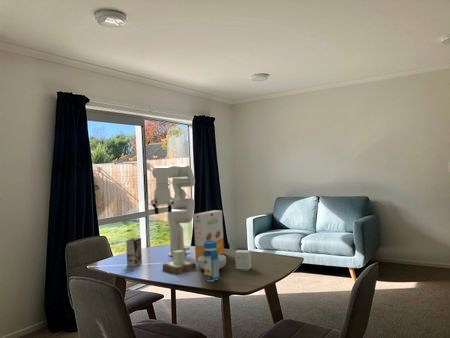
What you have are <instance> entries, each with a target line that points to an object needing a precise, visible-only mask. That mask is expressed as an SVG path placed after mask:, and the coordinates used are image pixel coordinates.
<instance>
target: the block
mask: <svg viewBox="0 0 450 338" xmlns="http://www.w3.org/2000/svg"><path fill="white" fill-rule="evenodd" d="M185 252H186V251H182V250H177V251H173V256H172V262H173V263H174V264H182V263H185V260H186V258H185V257H186V255H185Z"/></svg>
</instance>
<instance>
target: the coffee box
mask: <svg viewBox="0 0 450 338" xmlns="http://www.w3.org/2000/svg"><path fill="white" fill-rule="evenodd" d="M125 243H126V245H125V246H126V267H127V266H128V267H137V266H139V265H141V264H142V263H143V258H142V257H143V255H142V252H143V251H142V238H140V237H135V238H130V239H128V240H126V241H125Z"/></svg>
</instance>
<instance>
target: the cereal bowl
mask: <svg viewBox="0 0 450 338" xmlns="http://www.w3.org/2000/svg"><path fill="white" fill-rule="evenodd" d="M203 258H204V257H203V256H201V257H199V258H198V261H197V264H198V266H199V267H200V268H201V269H202V270H204V263H203ZM218 258H219V261H218V262H219V270H220V269H222V268H224V267H225V266H226V263H227V256H226V255H224V254H222V255H220V254H218Z"/></svg>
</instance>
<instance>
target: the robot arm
mask: <svg viewBox="0 0 450 338" xmlns="http://www.w3.org/2000/svg"><path fill="white" fill-rule="evenodd" d="M151 173H152V176H153V178H155V188H154V195H153V199H152V200H150V202H149V203H150V204H151V206H152V207H153V208H154V214H155V215H159V205H167V220H168V221H167V222H168V226H169V227H168V228H169V242H170V243H169V245H170V247H169V249H170V250H169V251H170V252H169V253H167V255H168V256H169V257H173V251H177V250H182V251H185V256H186V255H187V251H190V249H191V247H190V246H187V247H185V243H184V242H185V241H184V239H185V236H184V228H183V226H182V224H188V223H189V224H190V223H191V222H192V221H193V219H194V214H195V213H194V212H195V204H196V203H195V199H194V198H192V197H190V196H189V197H188V196H187V193H186V191H185V190H184V189H183V188H188V187H189V188H192V187H194V186H195V183H196V179H195V175H194V172H193V170H192V167H191V166H190V165H189V164H180V165H179V164H177V165H175V164H174V165H165V166H164V165H163V166H155V167H154V168H153V169H152V170H151ZM171 178H172V180H171V184H172V188H173V189H172V190H173V191H174V196H173V197H172V196H171V191H170V187H169V186H170V185H171V184H170V183H169V179H171Z"/></svg>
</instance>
